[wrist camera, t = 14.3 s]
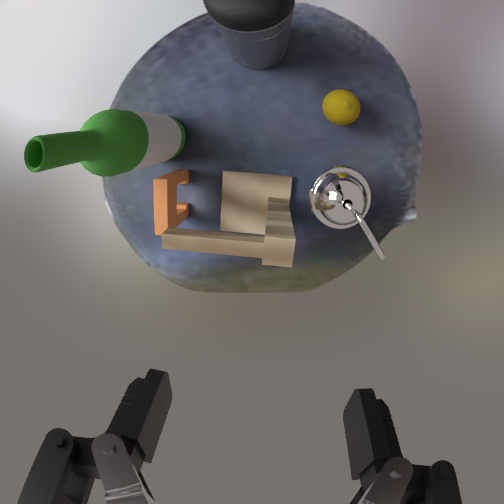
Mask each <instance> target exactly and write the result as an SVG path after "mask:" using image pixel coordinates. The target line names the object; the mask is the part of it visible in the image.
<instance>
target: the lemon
mask: <svg viewBox="0 0 504 504" xmlns="http://www.w3.org/2000/svg"><path fill="white" fill-rule="evenodd" d="M322 109H323V113H324V115H325V116H326V118H327V119H328V120H329V121H331V122H332V123H334V124H337V125H348V124H351V123H352V122H354V121H355V120H356V119H357V118H358V116H359V114H360V103H359V100H358V99H357V97H356V96H355V95H354V94H353V93H351V92H349V91H346V90H340V89H339V90H334V91H332V92H330V93H329V94H327V95H326V97H325V98H324V100H323V103H322Z"/></svg>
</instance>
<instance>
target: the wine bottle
mask: <svg viewBox="0 0 504 504" xmlns="http://www.w3.org/2000/svg"><path fill="white" fill-rule="evenodd" d="M185 142H186V133H185V129H184V127H183V125H182V124H181V123H180V122H179V121H178V120H177V119H175V118H173V117H169V116H164V115H159V114H152V113H145V112H137V111H128V110H117V109H111V110H104V111H101V112H99V113H97V114H95V115H93V116H92V117H91V118H89V120H87V121H86V122H85V124H84V125H83V126H82V128H81V129H80V131H76V132H65V133H56V134H48V135H41V136H35V137H33V138H31V139H30V140H29V141H28V143H27V145H26V148H25V152H24V160H25V164H26V166H27V168H28V169H29V170H30V171H31V172H34V173H35V172H40V171H44V170H48V169H52V168H56V167H60V166H64V165H68V164H73V163H77V162H80V163H81V164H82V165H83V167H84V168H85V169H86V170H88V171H90V172H91V173H92V174H95V175H99V176H114V175H118V174H121V173H125V172H128V171H132V170H135V169H139V168H142V167H146V166H150V165H153V164H157V163H161V162H164V161H168V160H171V159H173V158H174V157H176V156H177V155H178V154H179V153H180V152H181V151H182V149H183V147H184V145H185Z"/></svg>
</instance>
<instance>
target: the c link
mask: <svg viewBox="0 0 504 504" xmlns="http://www.w3.org/2000/svg"><path fill="white" fill-rule="evenodd" d="M187 183H189V170H183V169H178V170H175V171H172V172H170V173H167V174H165V175H162V176H159V177H157V178H154V220H155V235H162V233H163V232H164V231H165V230H166V229H167V228H176V227H177V226H178V225H179V224H180V223H181V222H182V221H183V220H184V219H185V218H186V217H187V216H188V215H189V203H180V202H178V203H177V184H187Z"/></svg>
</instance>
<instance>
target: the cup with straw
mask: <svg viewBox="0 0 504 504" xmlns="http://www.w3.org/2000/svg"><path fill="white" fill-rule="evenodd" d="M370 203H371V193H370V188H369V185H368V183H367V181H366V180H365V178H364V177H363V176H362V175H361V174H360V173H359V172H358V171H356V170H355V169H353V168H350V167H347V166H333V167H330V168H327V169H325V170H324V171H322V172H321V173H320V174H319V175H318V176H317V177H316V178H315V179H314V181H313V183H312V185H311V187H310V191H309V204H310V208H311V210H312V212H313V214H314V215H315V217H316V218H317V219H318V220H319V221H320V222H321V223H323V224H324V225H326V226H329V227H331V228H336V229H345V228H349V227H352V226H354V225H356V224H357V223H359V225H360V226H361V228H362V229H363V231H364V233H365V234H366V236H367V238H368V239H369V241H370V243H371V245H372V246H373V248H374V250H375V251H376V253H377V255H378V257H379V259H380V260H382V259H384V258H385V255H384V253H383V251H382V249H381V247H380V246H379V244H378V242H377V240H376V239H375V237H374V235H373V234H372V232H371V230H370V228H369V227H368V225H367V223H366V222H365V220H364V217H365V215H366V214H367V212H368V209H369V207H370Z"/></svg>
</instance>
